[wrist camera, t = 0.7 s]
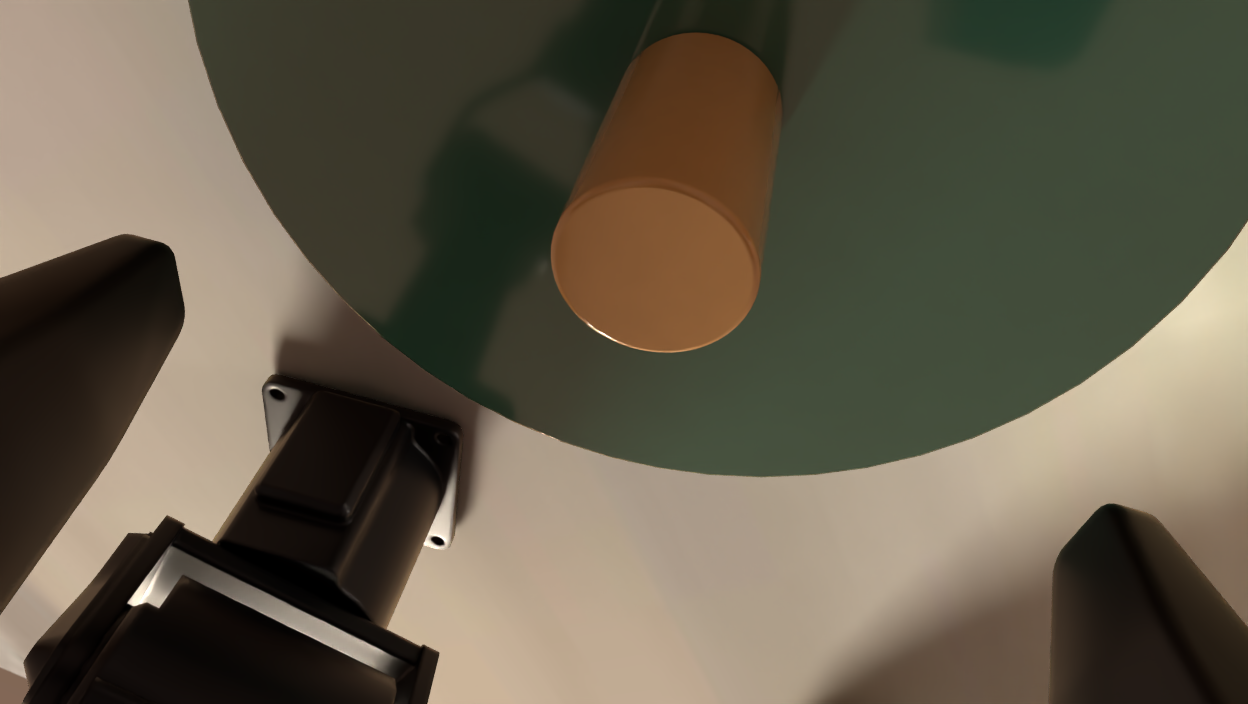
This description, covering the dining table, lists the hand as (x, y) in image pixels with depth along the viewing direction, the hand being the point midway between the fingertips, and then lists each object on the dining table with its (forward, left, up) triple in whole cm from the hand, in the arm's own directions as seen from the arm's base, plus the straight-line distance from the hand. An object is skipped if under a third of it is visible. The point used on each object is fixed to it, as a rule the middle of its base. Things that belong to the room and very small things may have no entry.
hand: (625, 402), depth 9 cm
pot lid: (0, 0, -7) cm, 7 cm away
